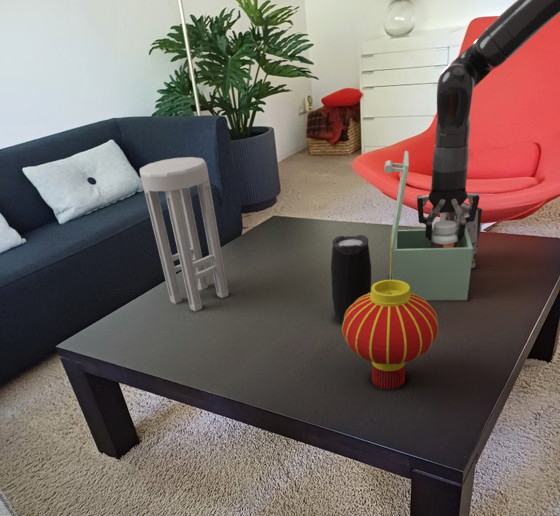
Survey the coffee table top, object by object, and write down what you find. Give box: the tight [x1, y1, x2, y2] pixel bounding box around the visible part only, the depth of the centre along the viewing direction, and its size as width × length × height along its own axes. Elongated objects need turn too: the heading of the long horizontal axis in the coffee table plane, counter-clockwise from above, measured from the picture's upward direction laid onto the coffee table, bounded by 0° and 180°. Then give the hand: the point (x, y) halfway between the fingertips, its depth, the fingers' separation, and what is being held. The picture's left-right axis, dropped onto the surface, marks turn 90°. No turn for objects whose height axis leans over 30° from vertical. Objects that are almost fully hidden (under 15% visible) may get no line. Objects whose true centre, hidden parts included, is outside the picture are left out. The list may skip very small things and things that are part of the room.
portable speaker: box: [330, 234, 372, 325], centre depth 119 cm, size 9×9×20 cm
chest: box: [391, 228, 473, 301], centre depth 130 cm, size 18×14×13 cm
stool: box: [139, 156, 230, 312], centre depth 132 cm, size 16×16×35 cm
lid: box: [383, 150, 410, 250], centre depth 122 cm, size 19×14×5 cm
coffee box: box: [439, 202, 483, 269], centre depth 139 cm, size 9×6×16 cm
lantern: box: [341, 231, 439, 390], centre depth 94 cm, size 17×17×30 cm
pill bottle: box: [431, 220, 458, 248], centre depth 126 cm, size 6×6×11 cm
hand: (444, 238), depth 125 cm, fingers closed on pill bottle, 6 cm apart
